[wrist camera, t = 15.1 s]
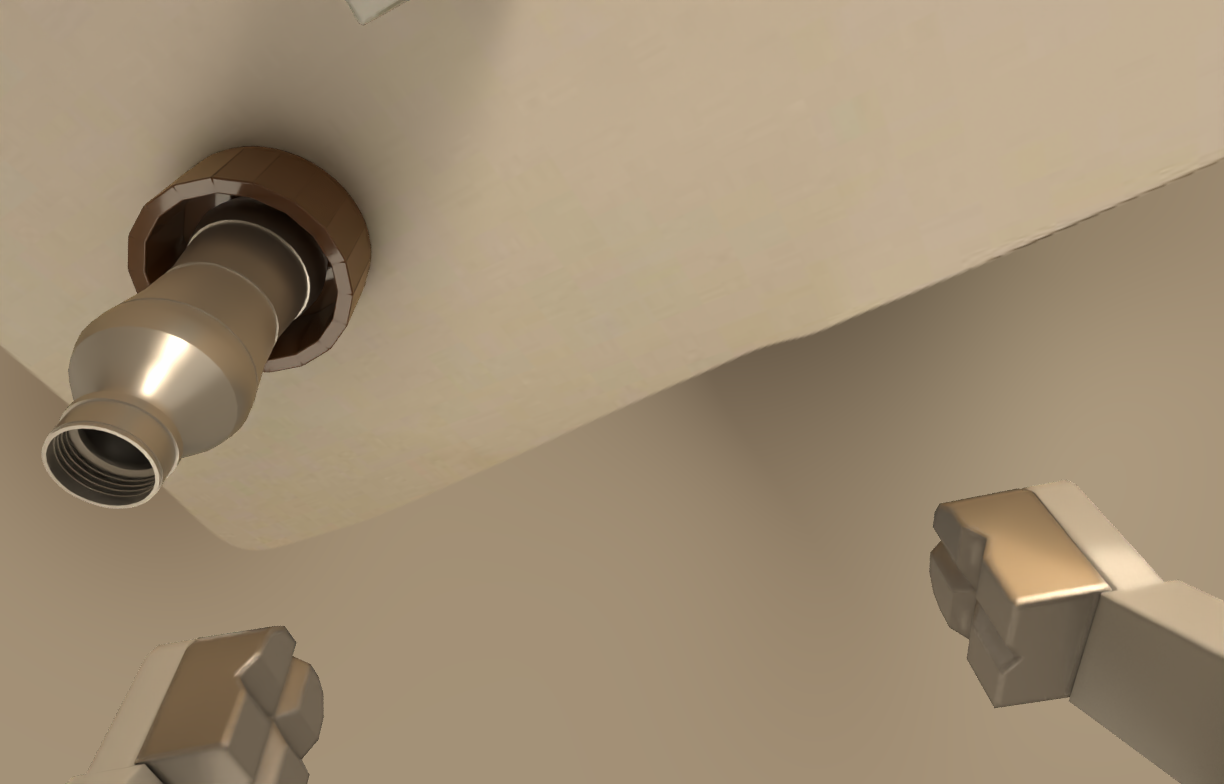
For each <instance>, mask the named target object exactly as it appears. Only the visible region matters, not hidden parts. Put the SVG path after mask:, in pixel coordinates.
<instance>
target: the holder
mask: <svg viewBox="0 0 1224 784" xmlns="http://www.w3.org/2000/svg"><path fill="white" fill-rule="evenodd" d="M241 196H242V197H250V198H253V199H255V200H257V201H259V202H262V203H264V204H266V205H268V206H271V207H273V208H275V209H277V210H279V211H282V212H284V213H286V214H287V215H288V216H289V217H291V218H292V219H293V220H294V221H295V222H297V223H298V224H299V225H300V226H301V227H302V228H304V229H305V230H306V231H307V232H308V233H310V234H311V235H312V236H313V237H314V239H315V240H316V242H317V243H318V245H319V246H320V248H321V250H322V251H323V253H324V254H325V256H326V257H327V259H328V264H327V273H326V279H325V284H324V287H323V289H322V292H321V294H320V295H319V297H318V298H317V300H316V301H315V302H314V303H313V304H312V305H311V306H310V307H309V308H308V309H307V310H306V311H305V312H304V313H302V314H301V315H300V316H299V317H297V318H296V319H295V320H293V321H292V322H291V324H290V325H289V326H288V327H287V328H286V329H285V331H284V332H283V333H282V334H281V335H280V337H279V338H278V339H277V342H276V344H275V345H274V347H273V349H272V352H271V354H270V356H269V358H268V360H267V362H266V364H265V367H264V370H263V372H275V371H280V370H285V369H290V368H295V367H300V366H303V365H305V364H307V363H309V362H310V361H312V360H314V359H315V358H317V357H319V356H320V355H322V354H324V353H325V352H327V351H328V350H330V349H331V348H332V346H333V345H334V344H335V342H336V341H337V339H338V338H339V337H340V335H341V334H342V332H343V331H344V330H345V328H346V327H347V325H348V323H349V321H350V318H351V316H352V314H353V312H354V309H355V307H356V305H357V303H358V300H359V298H360V296H361V294H362V291H363V289H364V287H365V284H366V279H367V276H368V272H369V269H370V262H371V244H370V238H369V233H368V230H367V226H366V223H365V221H364V219H363V216H362V214H361V212H360V210H359V209H358V207H357V205H356V204H355V202H354V200H353V199H352V198H351V196H350V195H349V194H348V193H347V191H346V190H345V189H344V188H343V187H342V186H341V185H340V184H339V183H338V182H337V181H336V180H335V179H334V178H333V177H332V176H330V175H329V174H328V173H327V172H325V171H324V170H323V169H321V168H319V167H318V166H316V165H315V164H313V163H312V162H310V161H308V160H306V159H304V158H302V157H300V156H297V155H294V154H292V153H289V152H286V151H282V150H278V149H274V148H268V147H260V146H243V147H236V148H230V149H227V150H223V151H220V152H217V153H215V154H213V155H210V156H208V157H207V158H205V159H204V160H202V161H201V162H199V163H198V164H197V165H195V166H194V167H193V168H191V169H190V170H188V171H187V172H186V173H184V174H183V175H182V176H180V177H179V178H178V179H177V180H175V181H174V182H173V183H172V184H170V185H169V186H168V187H166V188H165V189H164V190H163V191H161V192H160V193H159V194H158V195H156V196H155V197H154V198H153V199H151V200H150V201H149V202H147V203H146V204H145V205H144V206H143V208H142V210H141V212H140V214H139V216H138V218H137V220H136V221H135V223H134V225H133V227H132V229H131V231H130V233H129V236H128V269H129V270H128V271H129V274H130V276H131V279H132V281H133V284H134V286H135V289H136V292H137V294H138V293H139V292H141V291H143V290H145V289H146V288H147V287H149V286H150V285H151V284H152V283H153V282H155V281H156V280H157V279H158V278H160V277H161V276H162V275H164V274H165V273H166V272H167V271H168V270H169V269H171V268H172V267H173V266H174V264H175V263H176V262H177V260H178V259H179V257H180V256H181V255H182V253H183V252H184V251H185V249H186V248H187V246H188V243H189V240H190V238H191V236H192V234H193V232H194V231H195V229H196V227H197V226H198V224H199V222H200V221H201V219H202V217H203V216H204V215H205V214H206V213H207V212H208V211H209V210H211V209H212V208H214V207H216V206H218V205H219V204H221V203H224V202H226V201H229V200H231V199H235V198H238V197H241Z"/></svg>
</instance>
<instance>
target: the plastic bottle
mask: <svg viewBox="0 0 1224 784" xmlns="http://www.w3.org/2000/svg"><path fill="white" fill-rule="evenodd" d="M327 264H328V259H327V257H326V256H325V254H324V253H323V251H322V250H321V248H320V246H319V245H318V243H317V242H316V240H315V239H314V237H313V236H312V235H311V234H310V233H308V232H307V231H306V230H305V229H304V228H302V227H301V226H300V225H299V224H298V223H297V222H295V221H294V220H293V219H292V218H291V217H289V216H288V215H287V214H286V213H284V212H282V211H279V210H277V209H275V208H273V207H271V206H268V205H266V204H264V203H262V202H259V201H257V200H255V199H253V198H250V197H242V196H241V197H238V198H235V199H231V200H229V201H226V202H224V203H221V204H219V205H218V206H216V207H214V208H212V209H211V210H209V211H208V212H207V213H206V214H205V215H204V216H203V217H202V219H201V221H200V222H199V224H198V226H197V227H196V229H195V231H194V232H193V234H192V236H191V238H190V240H189V243H188V246H187V248H186V249H185V251H184V252H183V253H182V255H181V256H180V257H179V259H178V260H177V262H176V263H175V264H174V266H173V267H172V268H171V269H169V270H168V271H167V272H166V273H165V274H164V275H162V276H161V277H160V278H158V279H157V280H156V281H155V282H153V283H152V284H151V285H150V286H149V287H147V288H146V289H145V290H143V291H141V292H139V293H138V294H136V295H134V296H132V297H131V298H129V299H127V300H125V301H124V302H122V303H120V304H119V305H117V306H115V307H113V308H111V309H110V310H108V311H106V312H104V313H103V314H102V315H100V316H99V317H98V318H96V319H95V320H94V321H92V322H91V323H90V324H89V325H88V326H87V327H86V328H85V329H84V330H83V331H82V332H81V334H80V336H79V338H78V340H77V342H76V344H75V347H74V350H73V352H72V355H71V359H70V364H69V369H68V372H69V383H70V387H71V392H72V396H73V400H74V401H73V402H72V403H71V404H70V405H69V406H68V408H67V409H66V410H65V411H64V412H63V414H62V416H61V418H60V420H59V423H58V425H57V426H56V427H55V428H54V429H53V430H52V431H51V432H50V434H49V435H48V437H47V438H46V440H45V443H44V445H43V448H42V461H43V464H44V466H45V469H46V471H47V472H48V473H49V475H50V477H51V478H52V479H53V480H54V481H55V482H56V483H57V484H58V485H59V486H60V487H61V488H63V489H64V490H65V491H66V492H68V493H69V494H71V495H73V496H74V497H76V498H78V499H80V500H83V501H85V502H87V503H90V504H94V505H97V506H101V507H107V508H119V509H122V508H131V507H135V506H139V505H141V504H143V503H145V502H147V501H148V500H149V499H151V498H152V497H153V496H154V495H155V494H156V493H157V492H158V490H159V489H160V487H161V486H162V484H163V482H164V481H165V479H166V478H167V477H168V476H170V475H171V474H172V473H173V471H174V470H175V468H176V467H177V465H178V464H179V462H180V460H181V458H184V457H187V456H191V455H195V454H199V453H202V452H206V451H208V450H210V449H212V448H214V447H216V446H218V445H220V444H221V443H222V442H224V441H225V440H227V439H228V438H230V437H231V436H232V435H233V434H234V433H236V432H237V431H238V430H239V429H240V428H241V427H242V425H243V424H244V422H245V421H246V419H247V417H248V415H249V413H250V410H251V408H252V406H253V403H254V400H255V397H256V393H257V390H258V387H259V383H260V380H261V377H262V373H263V370H264V367H265V364H266V362H267V360H268V358H269V356H270V354H271V352H272V349H273V347H274V345H275V344H276V342H277V339H278V338H279V337H280V335H281V334H282V333H283V332H284V331H285V329H286V328H287V327H288V326H289V325H290V324H291V322H292V321H293V320H295V319H296V318H297V317H299V316H300V315H301V314H302V313H304V312H305V311H306V310H307V309H308V308H309V307H310V306H311V305H312V304H313V303H314V302H315V301H316V300H317V298H318V297H319V295H320V294H321V292H322V289H323V287H324V284H325V279H326V273H327Z"/></svg>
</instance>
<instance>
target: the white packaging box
mask: <svg viewBox="0 0 1224 784" xmlns="http://www.w3.org/2000/svg"><path fill="white" fill-rule="evenodd" d="M345 1H346V2H347V4H348V6H349V7H350V9H351V11H352V13H353V14H354V16H355V18H356V19H357V21H358V23H359V24H361V25H366V24H367V23H369V22H371V21H373V20H375V19H377V18H378V17H380V16H382V15H384V14H386V13H387V12H389V11H391V10H393V9H394V8H396V7H398V6H400V5H402V4H403V3H405V2H407V1H409V0H345Z"/></svg>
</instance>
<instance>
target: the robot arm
mask: <svg viewBox="0 0 1224 784" xmlns="http://www.w3.org/2000/svg"><path fill="white" fill-rule="evenodd" d="M933 528H934V529H935V531H936V532H937V534H938V536H939V537H940V539H941V541H940V542H939V543H938V545H937V546H936V547H935V548H934V549H933V550H932V551H931V553H930V571H929V572H930V577H931V582H932V587H933V592H934V595H935V598H936V600H937V603H938V606H939V608H940V611H941V612H942V614H943V616H944V618H945V620H946V622H947V624H948V626H949V627H950V628H951V629H953V630H955V631H956V632H958V633H960V634H961V635H963V636H965V637H966V638H968V639H969V647H968V654H967V660H968V662H969V663H970V665H971V667H972V669H973V670H974V672H975V674H976V676H977V678H978V680H979V681H980V683H981V685H982V686H983V688H984V690H985V692H986V694H987V695H988V697H989V699H990V701H991V703H992V704H993V706H994V708H998V707H1006V706H1012V705H1019V704H1026V703H1033V702H1040V701H1046V700H1053V699H1060V698H1067V697H1070V699H1069V701H1070V702H1071V703H1072V704H1074V705H1075V706H1077V707H1078V708H1079V709H1080V710H1082V711H1083V712H1085V713H1086V714H1087V715H1089V716H1090V717H1091V718H1093V719H1094V720H1095V721H1097V722H1098V723H1100V724H1101V725H1103V726H1104V727H1105V728H1106V729H1108V730H1109V731H1111V732H1112V733H1113V734H1114V735H1116V736H1117V737H1119V738H1120V739H1121V740H1122V741H1124V742H1126V743H1127V744H1128V745H1129V746H1131V747H1132V748H1133V749H1135V750H1136V751H1138V752H1139V753H1140V754H1142V755H1143V756H1144V757H1145V758H1147V759H1148V760H1150V761H1151V762H1152V763H1154V764H1155V765H1156V766H1158V767H1159V768H1160V769H1162V770H1163V771H1164V772H1166V773H1167V774H1168V775H1170V776H1171V777H1173V778H1174V779H1175V780H1177V781H1178V782H1179V783H1181V784H1224V601H1223V600H1221V599H1219V598H1216V597H1214V596H1212V595H1210V594H1208V593H1206V592H1204V591H1202V590H1199V589H1197V588H1195V587H1193V586H1191V585H1188V584H1186V583H1184V582H1182V581H1180V580H1173V581H1166V582H1164V581H1163V580H1162V578H1161V577H1160V576H1159V575H1158V574H1157V573H1156V572H1155V571H1154V570H1153V569H1152V568H1151V566H1150V565H1149V564H1148V563H1147V562H1146V561H1145V560H1144V559H1143V558H1142V556H1140V554H1139V553H1138V552H1137V551H1136V550H1135V549H1134V548H1133V547H1132V546H1131V544H1130V543H1129V542H1128V541H1127V540H1126V539H1125V538H1124V537H1123V536H1122V534H1121V533H1120V532H1119V531H1118V530H1117V529H1116V528H1115V527H1114V526H1113V525H1112V523H1111V522H1110V521H1109V520H1108V519H1107V518H1106V517H1105V516H1104V515H1103V514H1102V512H1100V510H1099V509H1098V508H1097V507H1096V506H1095V505H1094V504H1093V503H1092V502H1091V500H1090V499H1089V498H1088V497H1087V496H1086V495H1085V494H1084V493H1083V492H1082V490H1081V489H1080V488H1079V487H1078V486H1077V485H1076V484H1074V483H1072V482H1070V481H1068V480H1062V481H1057V482H1052V483H1046V484H1041V485H1036V486H1030V487H1025V488H1022V489H1013V490H1007V491H1002V492H997V493H992V494H987V495H982V496H977V497H971V498H966V499H961V500H956V501H951V502H946V503H941V504H939V506H938V507H937V509H936V511H935V514H934V522H933ZM295 646H296V641H295V640H294V639H293V637H292V636H291V634H290V633H289V632H288V630H287V629H286V627H285V626H272V627H266V628H259V629H253V630H246V631H240V632H233V633H227V634H221V635H214V636H208V637H202V638H197V639H192V640H186V641H180V642H174V643H168V644H162V645H158V646H157V647H156V648H155V649H153V650H152V651H151V652H150V653H149V654H148V655H147V656H146V657H145V659H144V661H143V663H142V665H141V667H140V669H139V671H138V673H137V675H136V677H135V679H134V681H133V683H132V685H131V687H130V689H129V691H128V692H127V694H126V697H125V699H124V701H123V702H122V704H121V706H120V708H119V710H118V712H117V714H116V717H115V718H114V720H113V722H112V724H111V726H110V728H109V730H108V732H107V734H106V736H105V738H104V740H103V742H102V744H101V746H100V748H99V749H98V751H97V753H96V755H95V757H94V759H93V761H92V763H91V765H90V767H89V769H88V771H87V773H86V774H83V775H78V776H74V777H72V778H71V779H70V780H69V781H68V782H67V783H66V784H307V782H308V778H309V773H308V771H307V769H306V767H305V765H304V763H303V761H302V758H303V757H304V756H305V755H306V754H307V752H308V751H309V750H310V749H311V748H312V746H313V745H314V744H315V743H316V742H317V741H318V739H319V734H320V730H321V726H322V722H323V716H324V715H323V691H322V687H321V684H320V681H319V677H318V675H317V674H316V672H315V670H314V669H313V667H312V666H311V664H309V663H307V662H304V661H302V660H300V659H298V658H296V657H294V656H292V655H293V652H294V649H295Z"/></svg>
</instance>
